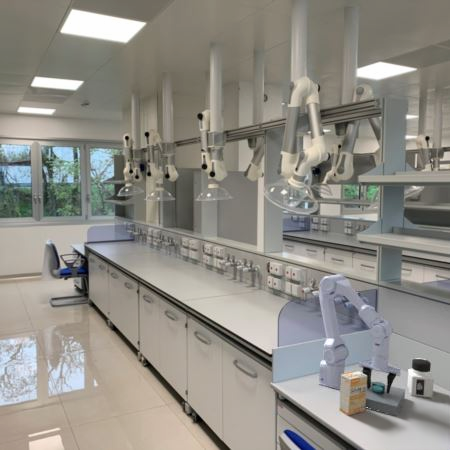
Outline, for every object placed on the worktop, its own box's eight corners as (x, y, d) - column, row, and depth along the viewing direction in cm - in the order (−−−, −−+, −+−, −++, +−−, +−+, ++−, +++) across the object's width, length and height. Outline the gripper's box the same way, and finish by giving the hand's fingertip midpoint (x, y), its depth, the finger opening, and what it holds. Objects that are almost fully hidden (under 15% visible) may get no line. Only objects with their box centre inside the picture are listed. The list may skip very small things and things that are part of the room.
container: (432, 398, 167) (434, 364, 166) (411, 395, 169) (413, 362, 168) (427, 389, 175) (429, 357, 174) (407, 387, 176) (408, 355, 176)
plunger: (370, 401, 163) (371, 384, 162) (373, 397, 167) (374, 380, 166) (382, 404, 161) (383, 387, 160) (385, 400, 164) (386, 383, 164)
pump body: (350, 403, 161) (350, 394, 161) (361, 387, 175) (362, 379, 174) (396, 416, 153) (397, 406, 152) (404, 398, 166) (405, 389, 166)
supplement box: (348, 416, 152) (350, 379, 151) (338, 410, 156) (340, 374, 155) (366, 411, 156) (368, 375, 155) (356, 405, 160) (358, 370, 159)
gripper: (357, 353, 163) (355, 389, 164) (399, 362, 155) (397, 399, 156) (362, 347, 169) (360, 382, 170) (402, 356, 161) (400, 392, 162)
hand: (378, 390), depth 163 cm, fingers open, 6 cm apart
